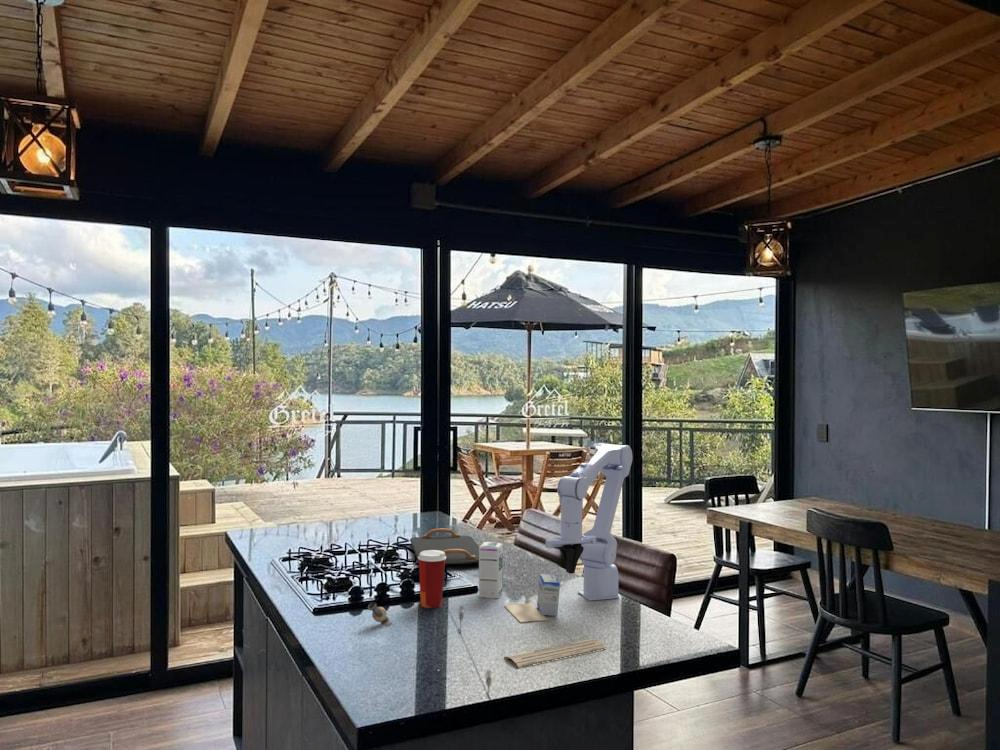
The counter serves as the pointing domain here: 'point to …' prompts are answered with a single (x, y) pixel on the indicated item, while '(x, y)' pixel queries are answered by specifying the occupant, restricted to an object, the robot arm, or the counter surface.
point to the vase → (379, 614)
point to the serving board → (448, 546)
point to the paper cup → (431, 577)
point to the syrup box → (490, 569)
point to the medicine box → (548, 595)
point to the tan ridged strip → (556, 652)
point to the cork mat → (525, 613)
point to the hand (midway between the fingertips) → (570, 572)
